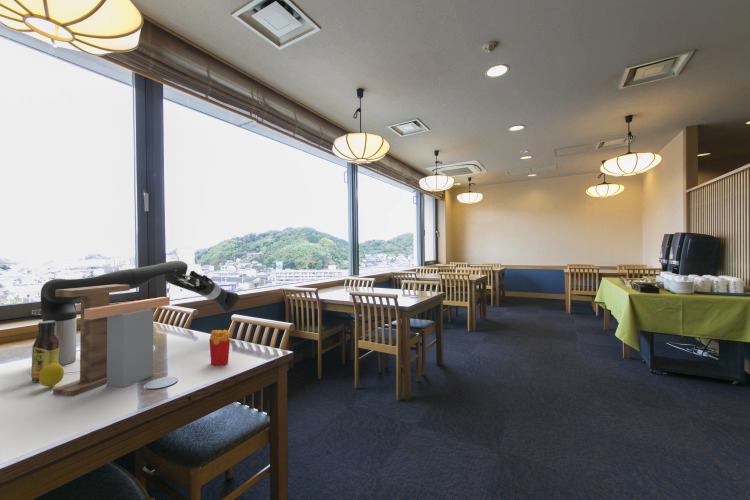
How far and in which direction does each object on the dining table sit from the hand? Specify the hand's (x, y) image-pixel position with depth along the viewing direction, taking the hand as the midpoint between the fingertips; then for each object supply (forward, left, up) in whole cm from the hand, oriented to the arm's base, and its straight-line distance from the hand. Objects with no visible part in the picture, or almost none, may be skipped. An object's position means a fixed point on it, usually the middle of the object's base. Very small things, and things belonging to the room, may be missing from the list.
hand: (182, 272), depth 127 cm
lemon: (-15, -34, -35) cm, 52 cm away
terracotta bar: (+4, -24, -12) cm, 27 cm away
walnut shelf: (-5, -29, -35) cm, 46 cm away
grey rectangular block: (+4, -24, -35) cm, 43 cm away
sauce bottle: (-25, -30, -35) cm, 53 cm away
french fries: (+23, -4, -35) cm, 42 cm away
